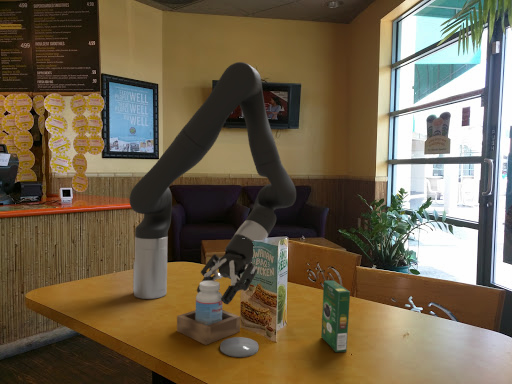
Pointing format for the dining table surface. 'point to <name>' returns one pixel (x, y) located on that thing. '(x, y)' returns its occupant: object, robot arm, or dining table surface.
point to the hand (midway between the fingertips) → (211, 297)
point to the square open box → (208, 327)
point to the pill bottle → (208, 303)
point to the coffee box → (335, 315)
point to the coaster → (239, 347)
